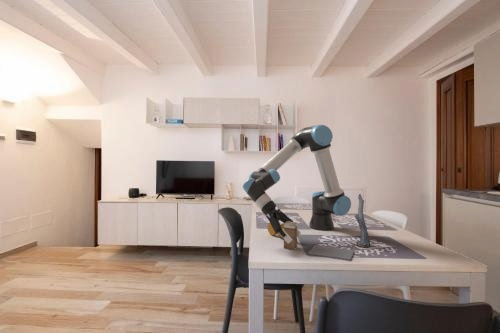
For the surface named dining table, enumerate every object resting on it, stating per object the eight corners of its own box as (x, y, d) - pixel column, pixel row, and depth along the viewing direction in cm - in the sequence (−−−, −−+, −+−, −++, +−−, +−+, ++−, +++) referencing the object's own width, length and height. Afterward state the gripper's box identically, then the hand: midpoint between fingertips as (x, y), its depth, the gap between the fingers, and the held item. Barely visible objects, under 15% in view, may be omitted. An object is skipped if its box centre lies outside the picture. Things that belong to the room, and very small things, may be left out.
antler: (372, 248, 133) (372, 196, 133) (354, 247, 135) (355, 195, 135) (367, 241, 144) (368, 193, 144) (351, 240, 146) (352, 193, 146)
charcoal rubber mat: (315, 246, 136) (315, 244, 136) (354, 251, 128) (354, 250, 128) (307, 254, 123) (307, 252, 123) (350, 260, 115) (350, 259, 115)
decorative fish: (298, 240, 141) (295, 220, 143) (293, 241, 139) (290, 221, 141) (272, 240, 159) (270, 222, 161) (268, 241, 157) (265, 223, 159)
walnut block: (287, 245, 137) (287, 221, 137) (297, 247, 134) (297, 222, 134) (283, 248, 132) (283, 223, 132) (293, 249, 130) (294, 224, 130)
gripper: (270, 206, 151) (297, 237, 145) (250, 213, 129) (280, 250, 122) (279, 197, 149) (307, 228, 142) (260, 202, 127) (292, 239, 120)
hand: (295, 238), depth 132 cm, fingers open, 13 cm apart
